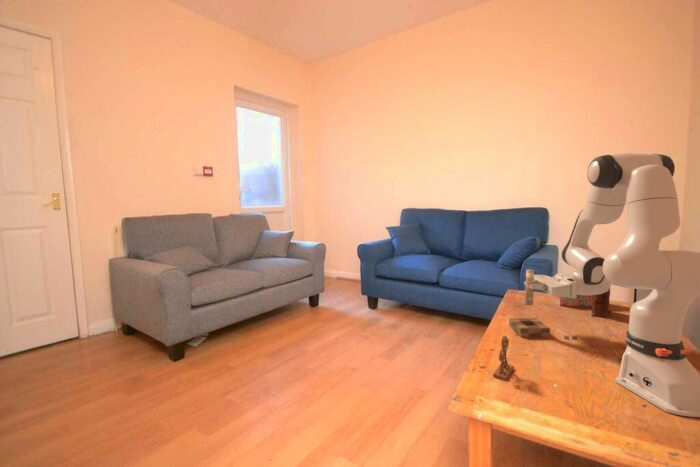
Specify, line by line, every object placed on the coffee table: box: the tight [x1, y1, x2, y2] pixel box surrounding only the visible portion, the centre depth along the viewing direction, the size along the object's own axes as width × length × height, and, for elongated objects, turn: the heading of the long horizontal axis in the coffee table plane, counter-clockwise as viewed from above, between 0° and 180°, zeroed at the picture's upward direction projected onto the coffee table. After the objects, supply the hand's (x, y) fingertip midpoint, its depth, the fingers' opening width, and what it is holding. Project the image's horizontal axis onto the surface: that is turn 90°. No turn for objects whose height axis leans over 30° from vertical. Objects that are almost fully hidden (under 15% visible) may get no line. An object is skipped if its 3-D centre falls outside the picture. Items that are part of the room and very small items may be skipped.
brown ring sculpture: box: [492, 335, 515, 382], centre depth 104 cm, size 9×4×12 cm, turn 140°
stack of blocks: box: [553, 294, 593, 307], centre depth 166 cm, size 21×6×12 cm, turn 85°
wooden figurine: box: [591, 288, 611, 318], centre depth 152 cm, size 12×6×18 cm, turn 143°
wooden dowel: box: [524, 269, 535, 306], centre depth 134 cm, size 3×3×14 cm
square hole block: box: [508, 317, 551, 338], centre depth 135 cm, size 11×11×4 cm
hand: (527, 284), depth 133 cm, fingers closed on wooden dowel, 3 cm apart
